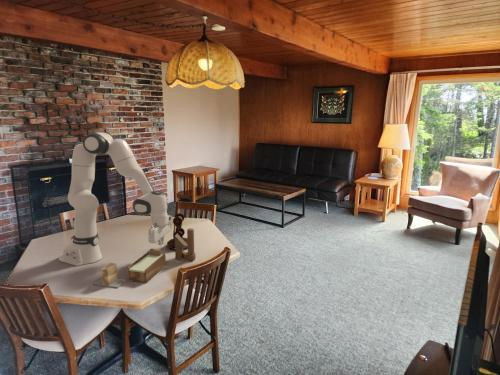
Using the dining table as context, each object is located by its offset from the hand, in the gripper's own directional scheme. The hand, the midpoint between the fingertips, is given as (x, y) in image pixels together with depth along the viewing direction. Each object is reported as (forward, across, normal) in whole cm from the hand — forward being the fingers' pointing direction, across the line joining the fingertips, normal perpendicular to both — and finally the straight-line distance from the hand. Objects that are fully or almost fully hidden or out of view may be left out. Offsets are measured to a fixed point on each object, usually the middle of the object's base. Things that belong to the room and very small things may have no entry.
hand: (161, 244), depth 191 cm
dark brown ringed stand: (+10, +21, -1) cm, 24 cm away
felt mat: (+9, -29, +13) cm, 33 cm away
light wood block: (+8, -29, +13) cm, 33 cm away
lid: (+4, -15, +1) cm, 15 cm away
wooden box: (+9, -15, +1) cm, 17 cm away
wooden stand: (+10, +5, -12) cm, 16 cm away
